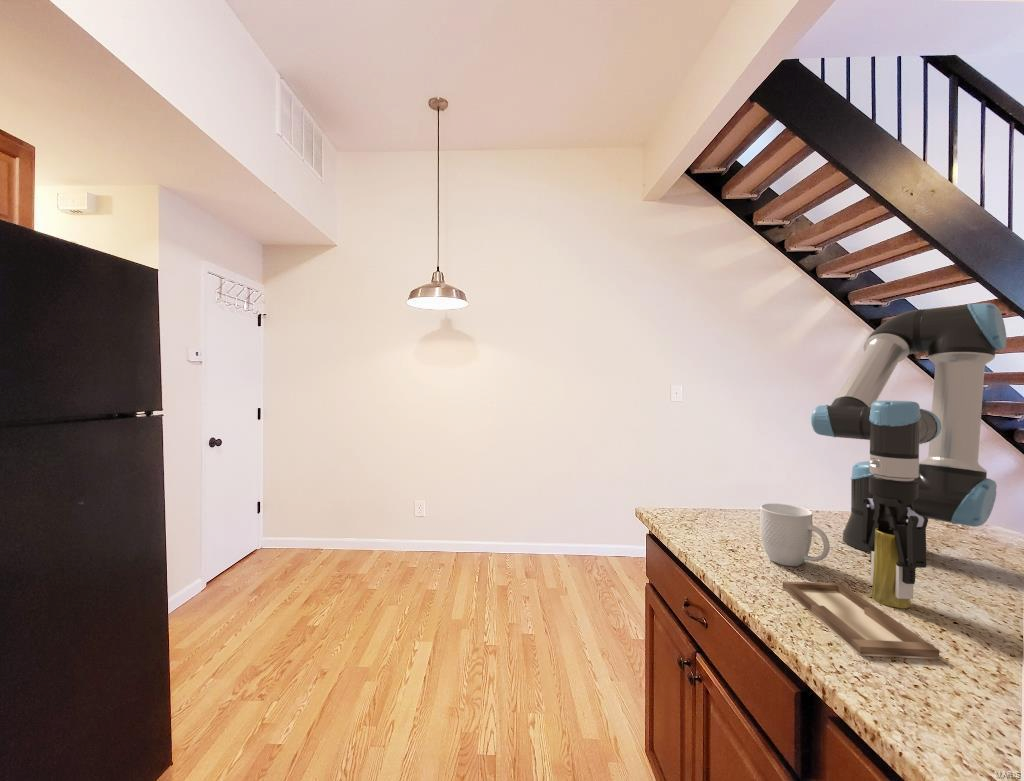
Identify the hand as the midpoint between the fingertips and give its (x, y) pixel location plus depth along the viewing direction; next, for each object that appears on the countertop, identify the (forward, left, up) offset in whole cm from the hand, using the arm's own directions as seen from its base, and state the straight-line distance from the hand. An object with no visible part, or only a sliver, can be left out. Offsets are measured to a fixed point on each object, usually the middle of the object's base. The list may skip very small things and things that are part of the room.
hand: (891, 589), depth 87 cm
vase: (0, 0, -3) cm, 3 cm away
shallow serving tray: (+13, +7, -2) cm, 15 cm away
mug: (+10, -18, -3) cm, 21 cm away
